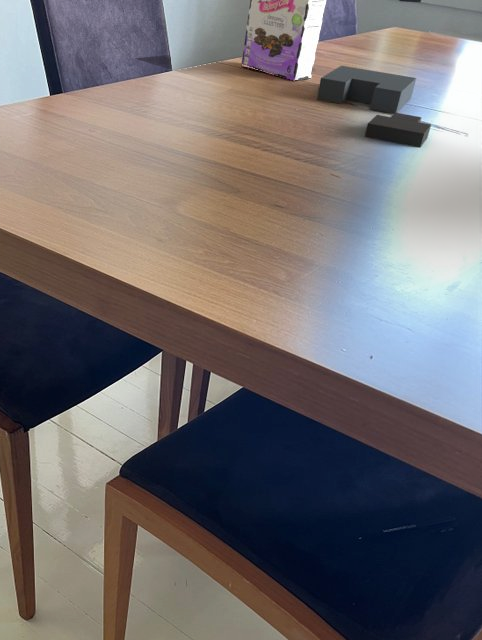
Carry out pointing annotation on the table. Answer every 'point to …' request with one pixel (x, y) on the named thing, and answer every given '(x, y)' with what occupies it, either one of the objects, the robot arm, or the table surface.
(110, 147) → the table surface
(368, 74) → the base pad
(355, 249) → the table surface
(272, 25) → the candy box
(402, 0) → the robot arm
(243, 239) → the table surface
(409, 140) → the pad
